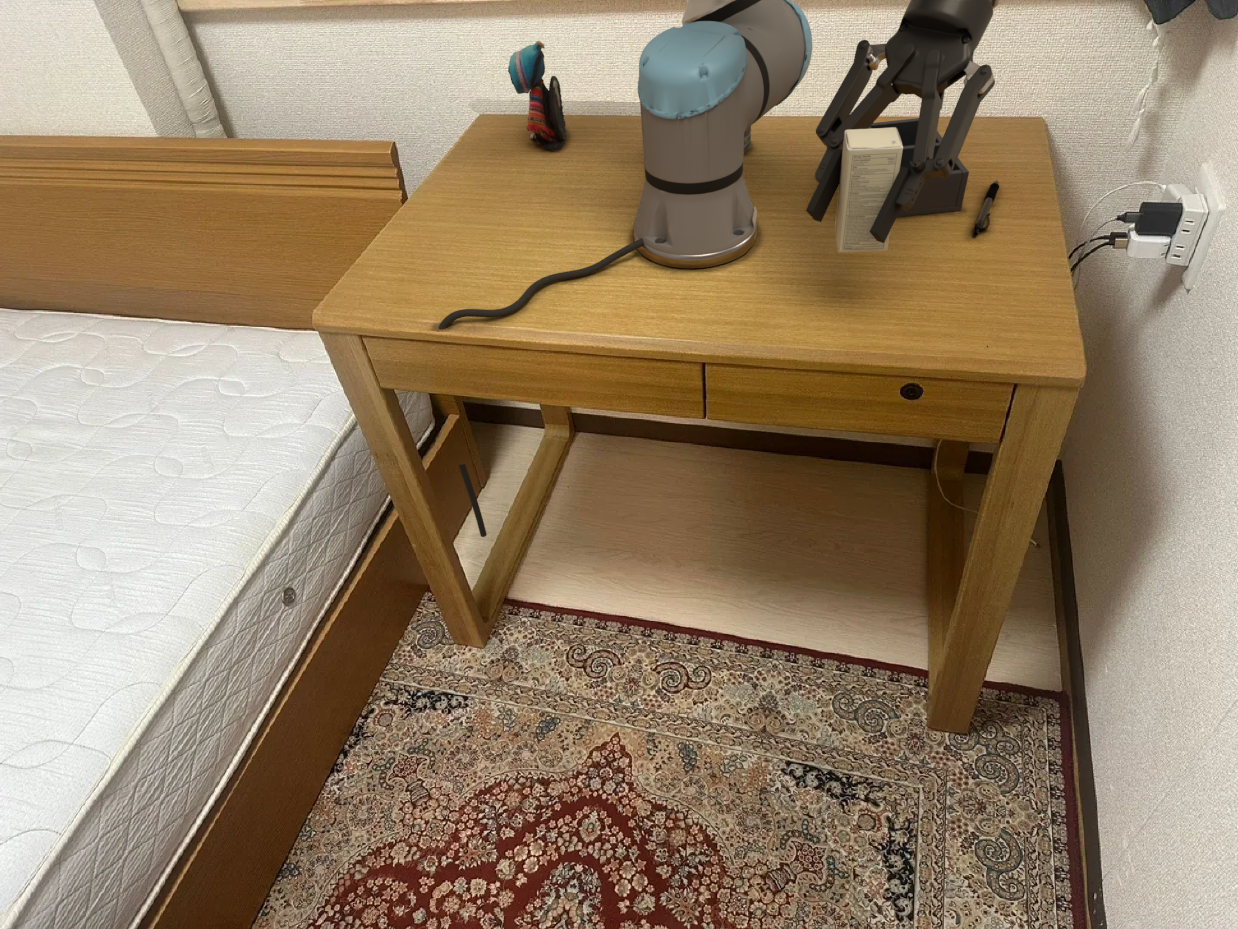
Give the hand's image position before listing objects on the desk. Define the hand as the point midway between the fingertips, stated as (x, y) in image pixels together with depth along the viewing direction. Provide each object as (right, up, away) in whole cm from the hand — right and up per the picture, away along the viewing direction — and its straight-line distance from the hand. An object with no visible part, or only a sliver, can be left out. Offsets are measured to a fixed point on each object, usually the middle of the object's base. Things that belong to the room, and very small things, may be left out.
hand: (844, 226), depth 83 cm
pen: (+24, +8, +22) cm, 33 cm away
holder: (+16, +14, +29) cm, 36 cm away
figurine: (-33, +26, +48) cm, 64 cm away
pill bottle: (-6, +23, +41) cm, 47 cm away
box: (+3, -1, +4) cm, 5 cm away
